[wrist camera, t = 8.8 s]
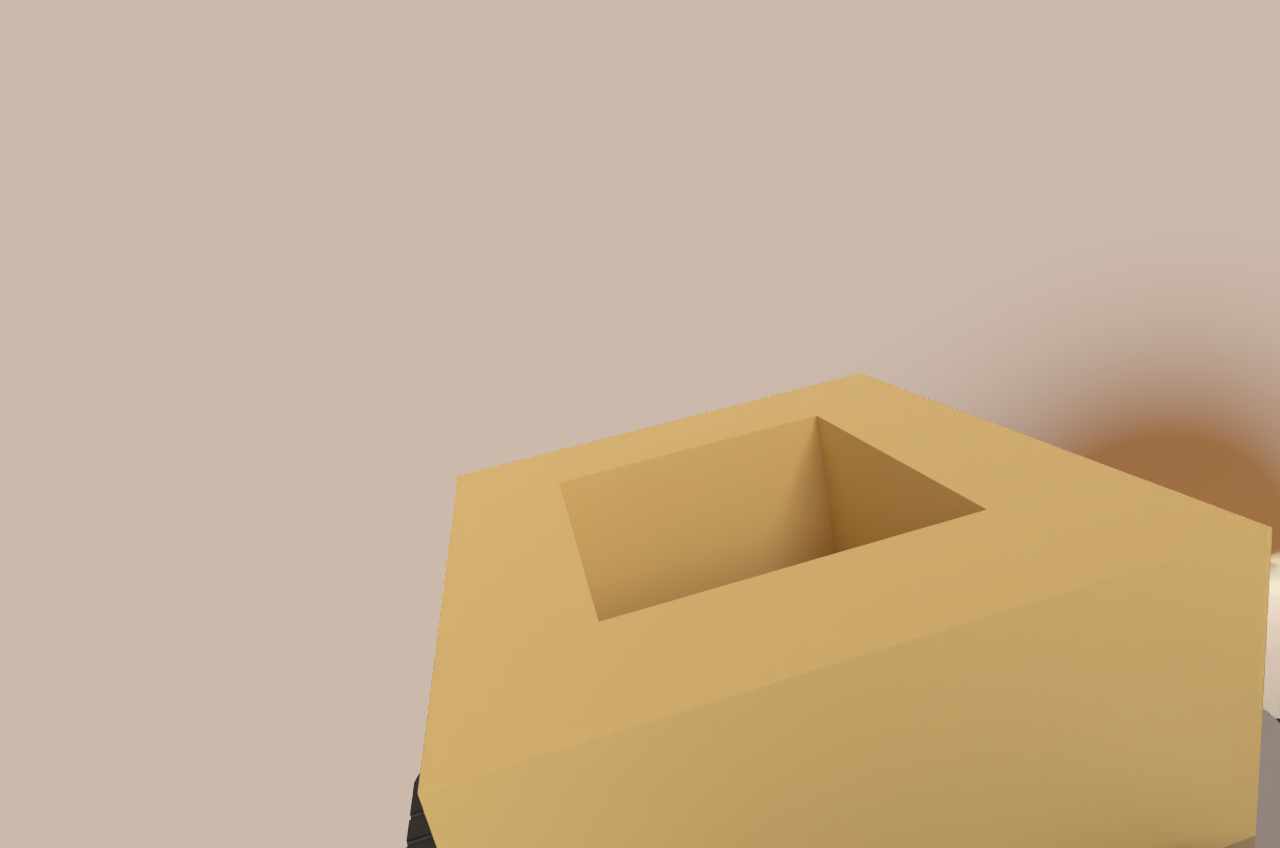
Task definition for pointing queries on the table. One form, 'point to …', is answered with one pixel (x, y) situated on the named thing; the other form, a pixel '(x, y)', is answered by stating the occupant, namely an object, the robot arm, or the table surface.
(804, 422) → the bead
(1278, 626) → the table surface
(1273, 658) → the table surface
